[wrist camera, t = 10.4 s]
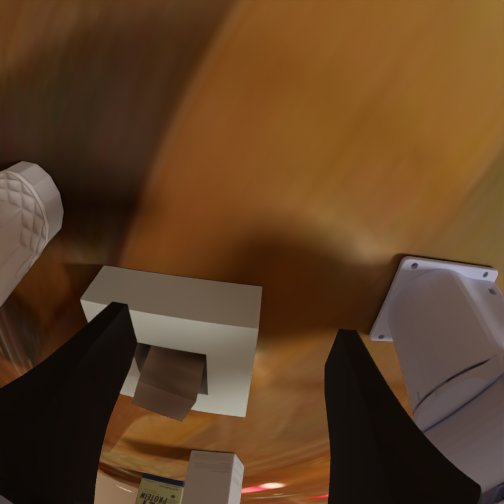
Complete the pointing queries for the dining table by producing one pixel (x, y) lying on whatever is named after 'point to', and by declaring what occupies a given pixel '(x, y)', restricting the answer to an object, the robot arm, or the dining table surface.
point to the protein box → (159, 490)
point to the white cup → (25, 220)
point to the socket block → (187, 328)
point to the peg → (169, 381)
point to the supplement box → (213, 478)
